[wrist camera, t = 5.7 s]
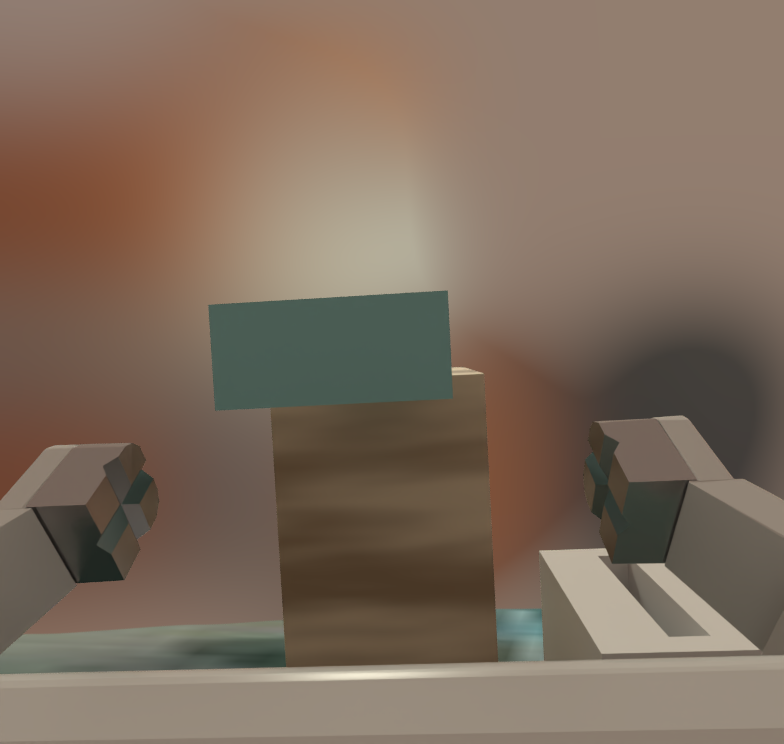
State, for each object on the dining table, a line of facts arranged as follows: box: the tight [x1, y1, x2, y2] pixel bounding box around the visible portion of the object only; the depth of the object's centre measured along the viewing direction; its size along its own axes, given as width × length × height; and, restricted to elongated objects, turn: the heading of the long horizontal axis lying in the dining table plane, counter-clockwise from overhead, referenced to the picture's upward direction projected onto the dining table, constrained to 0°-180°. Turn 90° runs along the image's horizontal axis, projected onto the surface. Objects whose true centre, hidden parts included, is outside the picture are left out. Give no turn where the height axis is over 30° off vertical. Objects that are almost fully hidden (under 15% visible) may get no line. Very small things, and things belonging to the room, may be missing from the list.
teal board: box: [209, 291, 453, 410], centre depth 24 cm, size 28×4×2 cm, turn 177°
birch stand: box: [271, 367, 498, 667], centre depth 26 cm, size 10×8×26 cm
